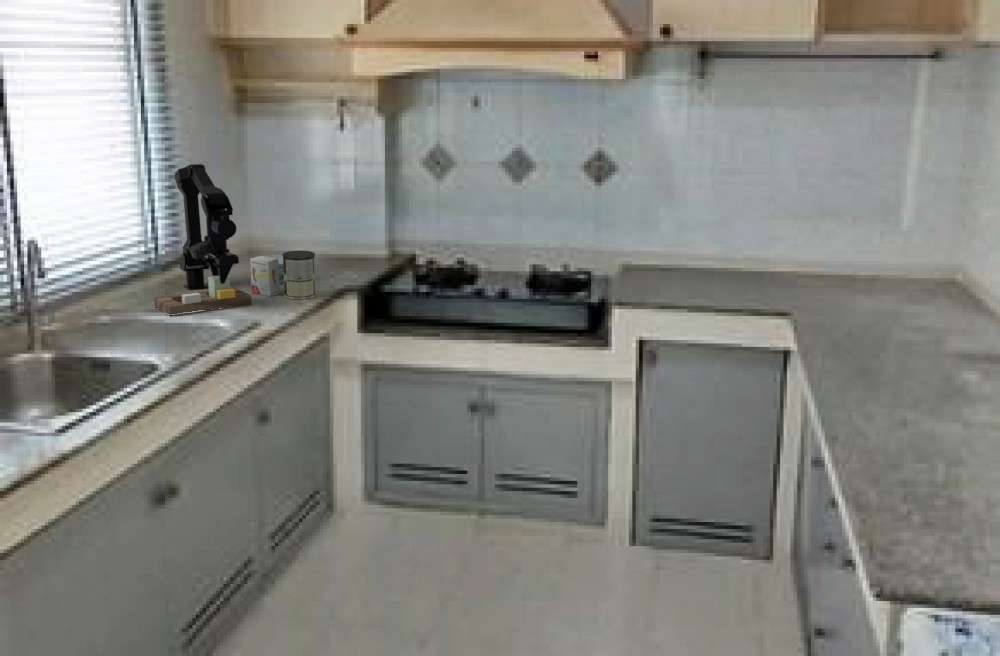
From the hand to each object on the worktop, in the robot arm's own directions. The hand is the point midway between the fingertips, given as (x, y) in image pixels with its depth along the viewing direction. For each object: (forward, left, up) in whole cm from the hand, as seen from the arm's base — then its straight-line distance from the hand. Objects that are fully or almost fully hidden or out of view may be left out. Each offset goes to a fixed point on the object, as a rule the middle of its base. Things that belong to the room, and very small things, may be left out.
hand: (219, 281), depth 309 cm
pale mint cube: (0, 0, -6) cm, 6 cm away
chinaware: (-19, +27, -7) cm, 34 cm away
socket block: (0, -6, -7) cm, 9 cm away
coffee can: (+4, +25, -7) cm, 27 cm away
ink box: (-5, +17, -7) cm, 20 cm away
